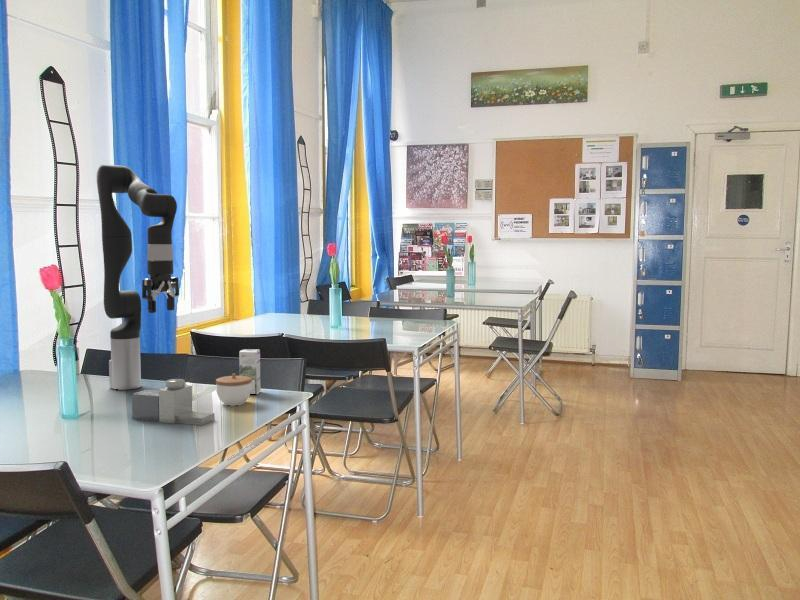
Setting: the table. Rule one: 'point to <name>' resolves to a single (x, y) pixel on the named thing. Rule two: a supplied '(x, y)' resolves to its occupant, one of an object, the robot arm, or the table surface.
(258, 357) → the syrup box
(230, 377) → the lidded jar
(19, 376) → the table surface
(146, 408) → the coupler lock
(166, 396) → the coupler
